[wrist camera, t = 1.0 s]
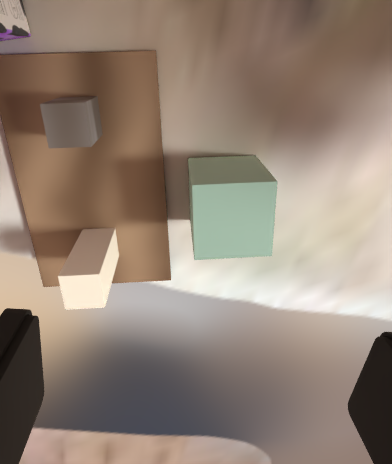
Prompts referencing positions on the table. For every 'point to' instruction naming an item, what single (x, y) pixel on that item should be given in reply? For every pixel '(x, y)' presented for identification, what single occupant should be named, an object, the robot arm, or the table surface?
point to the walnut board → (88, 155)
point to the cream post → (89, 269)
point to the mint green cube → (231, 207)
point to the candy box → (13, 20)
